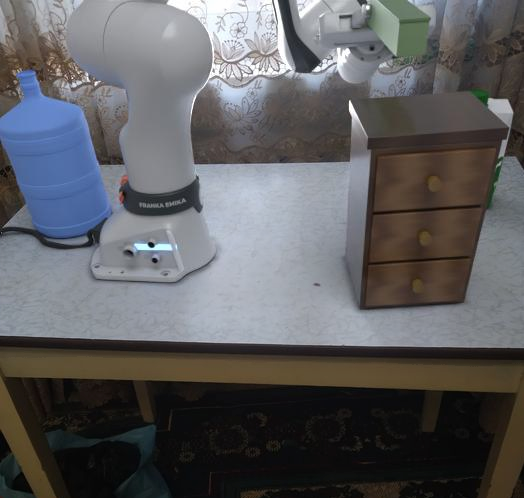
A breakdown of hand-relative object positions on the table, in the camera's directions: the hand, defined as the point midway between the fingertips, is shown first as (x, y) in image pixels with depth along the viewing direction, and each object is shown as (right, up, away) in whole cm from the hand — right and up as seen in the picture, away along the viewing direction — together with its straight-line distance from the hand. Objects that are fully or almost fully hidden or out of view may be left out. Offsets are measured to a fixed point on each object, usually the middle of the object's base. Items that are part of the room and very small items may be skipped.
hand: (384, 7), depth 85 cm
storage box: (0, -7, -4) cm, 8 cm away
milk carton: (+21, -26, +19) cm, 39 cm away
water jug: (-59, -29, +24) cm, 70 cm away
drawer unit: (+3, -44, +1) cm, 44 cm away
